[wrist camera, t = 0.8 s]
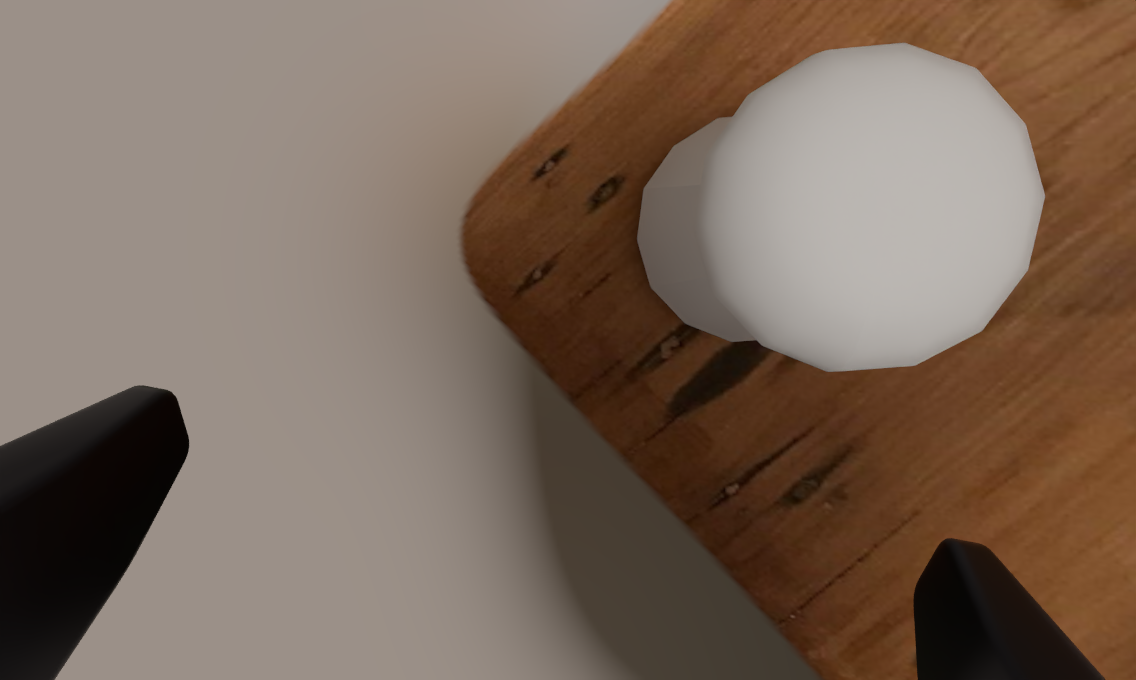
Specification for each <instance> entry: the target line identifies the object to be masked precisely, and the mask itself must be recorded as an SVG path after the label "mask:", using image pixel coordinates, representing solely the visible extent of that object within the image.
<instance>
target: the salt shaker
mask: <svg viewBox="0 0 1136 680" xmlns="http://www.w3.org/2000/svg"><path fill="white" fill-rule="evenodd" d="M1044 199H1045V194H1044V191H1043V187H1042V183H1041V180H1040V176H1039V172H1038V168H1037V165H1036V161H1035V157H1034V154H1033V150H1032V146H1031V142H1030V139H1029V135H1028V131H1027V128H1026V124H1025V123H1024V122H1023V121H1022V120H1021V118H1020V117H1019V116H1018V115H1017V114H1016V113H1015V112H1014V111H1013V109H1012V108H1011V107H1010V106H1009V105H1008V104H1007V103H1006V101H1005V100H1004V99H1003V98H1002V97H1001V96H1000V95H999V94H998V92H997V91H996V90H995V89H994V88H993V87H992V86H991V84H990V83H989V82H988V81H987V80H986V79H985V78H984V77H983V75H982V74H981V73H980V72H979V71H978V70H977V69H976V68H974V67H971V66H969V65H966V64H963V63H960V62H957V61H954V60H952V59H949V58H946V57H943V56H940V55H938V54H935V53H932V52H929V51H926V50H923V49H921V48H918V47H915V46H912V45H909V44H907V43H897V44H886V45H875V46H865V47H854V48H843V49H833V50H826V51H823V52H819V53H816V54H813V55H811V56H810V57H808V58H806V59H805V60H803V61H802V62H800V63H798V64H797V65H795V66H794V67H792V68H790V69H789V70H787V71H786V72H784V73H782V74H781V75H779V76H777V77H776V78H774V79H773V80H771V81H769V82H768V83H766V84H765V85H763V86H761V87H760V88H758V89H756V90H755V91H753V92H752V93H750V94H748V96H747V97H746V98H745V100H744V101H743V103H742V104H741V106H740V107H739V108H738V110H737V111H736V113H735V114H734V116H733V117H724V118H717V119H716V120H714V121H712V122H711V123H709V124H708V125H706V126H705V127H703V128H701V129H700V130H698V131H697V132H695V133H694V134H692V135H690V136H689V137H687V138H686V139H684V140H683V141H681V142H679V143H678V144H676V145H675V146H673V148H672V149H671V151H670V152H669V153H668V155H667V156H666V158H665V159H664V160H663V162H662V163H661V165H660V166H659V168H658V169H657V170H656V172H655V173H654V175H653V176H652V177H651V179H650V180H649V182H648V183H647V185H646V186H645V187H644V190H643V197H642V205H641V212H640V220H639V228H638V235H637V242H638V245H639V249H640V252H641V256H642V259H643V263H644V266H645V270H646V273H647V277H648V280H649V284H650V287H651V288H652V289H653V290H654V291H655V292H656V294H657V295H658V296H659V297H660V298H661V299H662V300H663V301H664V302H665V303H666V304H667V305H668V306H669V307H670V308H671V309H672V310H673V311H674V312H675V313H676V314H677V316H678V317H679V318H680V319H681V320H682V321H683V322H684V323H685V324H687V325H690V326H692V327H695V328H697V329H700V330H702V331H705V332H707V333H710V334H712V335H715V336H718V337H720V338H723V339H725V340H728V341H730V342H738V341H751V340H757V341H758V342H759V343H760V344H761V345H762V346H764V347H767V348H769V349H772V350H774V351H777V352H779V353H782V354H784V355H787V356H789V357H792V358H794V359H797V360H799V361H802V362H804V363H807V364H809V365H812V366H814V367H817V368H819V369H822V370H824V371H827V372H834V371H851V370H864V369H877V368H890V367H903V366H915V365H917V364H919V363H921V362H923V361H925V360H927V359H929V358H930V357H932V356H934V355H936V354H938V353H940V352H942V351H944V350H946V349H948V348H950V347H952V346H954V345H956V344H958V343H959V342H961V341H963V340H965V339H967V338H969V337H971V336H973V335H975V334H977V333H979V332H981V331H982V330H983V329H984V327H985V326H986V325H987V323H988V322H989V321H990V320H991V318H992V317H993V316H994V314H995V313H996V312H997V310H998V309H999V308H1000V306H1001V305H1002V304H1003V302H1004V301H1005V300H1006V298H1007V297H1008V296H1009V294H1010V293H1011V292H1012V290H1013V289H1014V288H1015V286H1016V285H1017V284H1018V282H1019V281H1020V280H1021V278H1022V277H1023V276H1024V275H1025V273H1026V272H1027V271H1028V267H1029V263H1030V259H1031V254H1032V250H1033V246H1034V242H1035V237H1036V233H1037V229H1038V224H1039V220H1040V216H1041V212H1042V207H1043V203H1044Z"/></svg>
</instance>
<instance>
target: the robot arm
mask: <svg viewBox="0 0 1136 680" xmlns="http://www.w3.org/2000/svg"><path fill="white" fill-rule="evenodd" d="M188 449H189V438H188V434H187V430H186V427H185V424H184V420H183V417H182V414H181V410H180V407H179V404H178V401H177V398H176V396H175V395H174V394H173V393H172V392H170V391H168V390H164V389H158V388H153V387H148V386H134V387H132V388H129V389H127V390H125V391H122V392H120V393H118V394H116V395H113V396H111V397H109V398H107V399H104V400H102V401H100V402H98V403H95V404H93V405H91V406H89V407H87V408H84V409H82V410H80V411H78V412H75V413H73V414H71V415H69V416H66V417H64V418H62V419H60V420H57V421H55V422H53V423H51V424H49V425H46V426H44V427H42V428H40V429H37V430H36V431H33V432H31V433H28V434H26V435H24V436H22V437H20V438H17V439H15V440H13V441H11V442H8V443H6V444H4V445H2V446H0V680H55V678H56V677H57V675H58V674H59V672H60V671H61V669H62V668H63V666H64V665H65V663H66V662H67V660H68V658H69V657H70V655H71V654H72V652H73V651H74V649H75V648H76V646H77V645H78V643H79V642H80V640H81V639H82V637H83V636H84V634H85V633H86V631H87V630H88V628H89V627H90V625H91V624H92V622H93V621H94V619H95V618H96V616H97V615H98V613H99V612H100V610H101V609H102V607H103V606H104V604H105V603H106V601H107V600H108V598H109V597H110V595H111V594H112V592H113V591H114V589H115V588H116V586H117V585H118V583H119V581H120V580H121V578H122V577H123V575H124V573H125V572H126V570H127V568H128V567H129V565H130V563H131V562H132V560H133V558H134V556H135V555H136V553H137V551H138V549H139V547H140V545H141V544H142V542H143V540H144V538H145V536H146V534H147V532H148V530H149V528H150V526H151V525H152V523H153V521H154V518H155V517H156V515H157V513H158V511H159V509H160V507H161V506H162V504H163V501H164V500H165V498H166V496H167V494H168V492H169V490H170V488H171V486H172V484H173V483H174V481H175V479H176V477H177V475H178V473H179V471H180V469H181V467H182V465H183V463H184V462H185V459H186V457H187V454H188ZM914 621H915V638H916V656H917V673H918V680H1105V678H1104V677H1103V676H1102V675H1101V674H1100V673H1099V672H1098V671H1097V669H1096V668H1095V667H1094V666H1093V665H1092V664H1091V663H1090V662H1089V660H1088V659H1087V658H1086V657H1085V656H1084V655H1083V654H1082V653H1081V651H1080V650H1079V649H1078V648H1077V647H1076V646H1075V645H1074V643H1073V642H1072V641H1071V640H1070V639H1069V638H1068V637H1067V636H1066V634H1065V633H1064V632H1063V631H1062V630H1061V629H1060V628H1059V627H1058V625H1057V624H1056V623H1055V622H1054V621H1053V620H1052V619H1051V618H1050V616H1049V615H1048V614H1047V613H1046V612H1045V611H1044V610H1043V609H1042V607H1041V606H1040V605H1039V604H1038V603H1037V602H1036V601H1035V599H1034V598H1033V597H1032V596H1031V595H1030V594H1029V593H1028V592H1027V590H1026V589H1025V588H1024V587H1023V586H1022V585H1021V584H1020V583H1019V581H1018V580H1017V579H1016V578H1015V577H1014V576H1013V575H1012V574H1011V572H1010V571H1009V570H1008V569H1007V568H1006V567H1005V566H1004V564H1003V563H1002V562H1001V561H1000V560H999V559H998V558H997V557H996V555H995V554H994V553H993V552H992V551H991V550H990V549H989V548H987V547H986V546H984V545H982V544H979V543H974V542H968V541H963V540H958V539H952V538H949V539H945V540H943V541H942V542H941V543H940V544H939V546H938V547H937V549H936V550H935V552H934V554H933V556H932V557H931V559H930V561H929V563H928V564H927V566H926V568H925V569H924V571H923V573H922V575H921V576H920V578H919V580H918V582H917V584H916V587H915V592H914Z"/></svg>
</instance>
